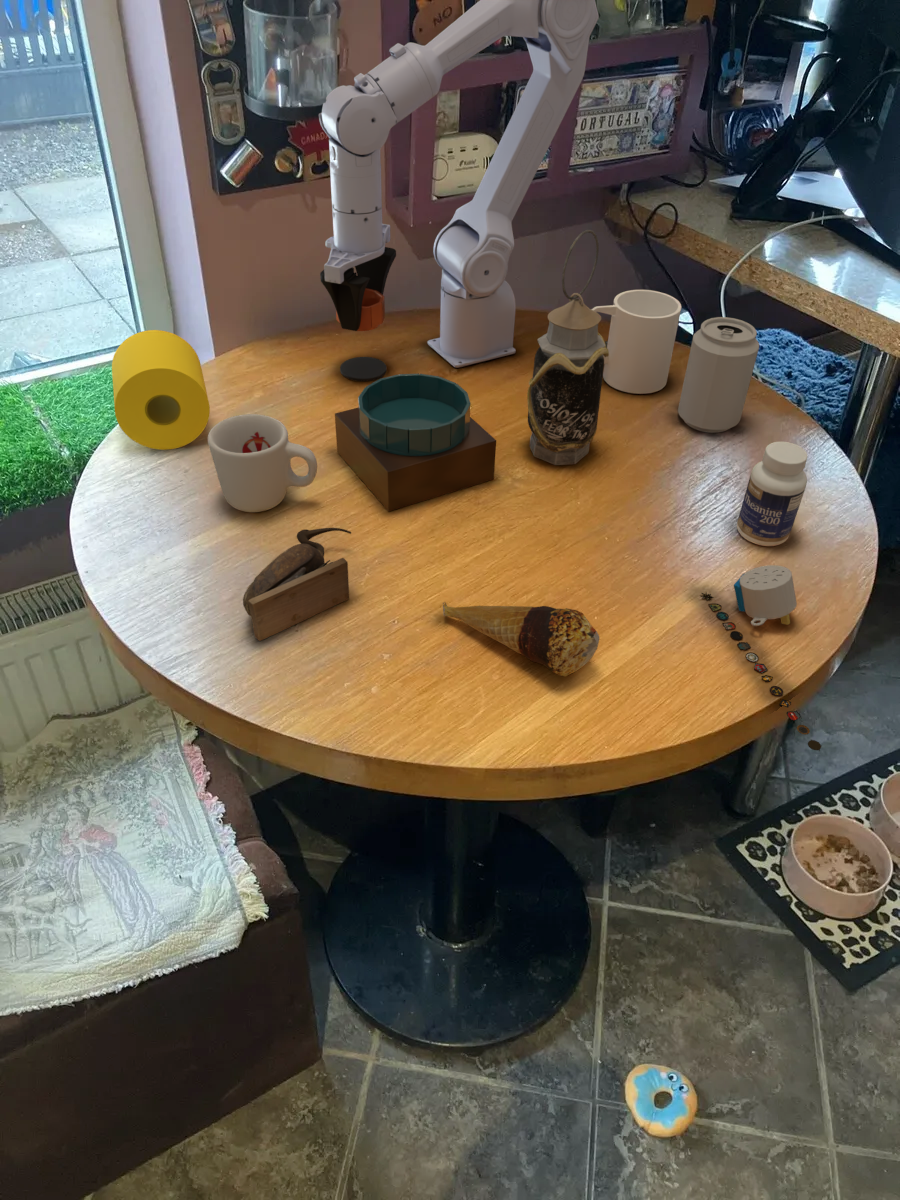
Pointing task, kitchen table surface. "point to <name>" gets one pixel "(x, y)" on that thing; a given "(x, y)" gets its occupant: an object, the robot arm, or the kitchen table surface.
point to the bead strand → (761, 670)
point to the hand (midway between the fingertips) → (361, 317)
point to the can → (718, 374)
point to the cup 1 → (256, 461)
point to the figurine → (296, 586)
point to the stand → (415, 464)
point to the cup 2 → (640, 340)
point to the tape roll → (159, 390)
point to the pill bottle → (773, 495)
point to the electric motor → (766, 594)
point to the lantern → (567, 380)
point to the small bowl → (371, 310)
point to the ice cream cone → (535, 633)
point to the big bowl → (414, 414)
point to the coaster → (363, 369)
